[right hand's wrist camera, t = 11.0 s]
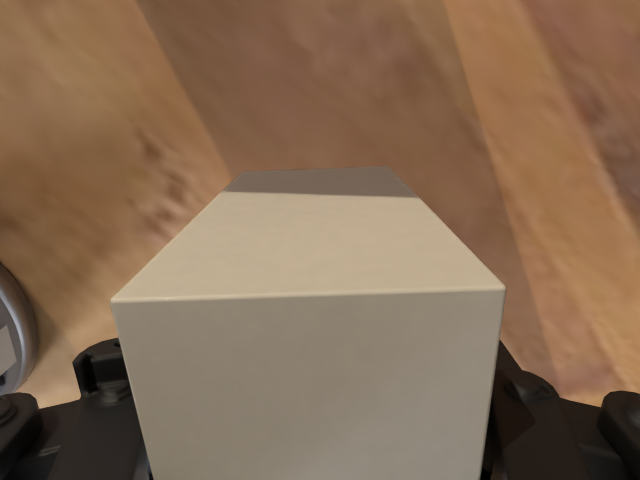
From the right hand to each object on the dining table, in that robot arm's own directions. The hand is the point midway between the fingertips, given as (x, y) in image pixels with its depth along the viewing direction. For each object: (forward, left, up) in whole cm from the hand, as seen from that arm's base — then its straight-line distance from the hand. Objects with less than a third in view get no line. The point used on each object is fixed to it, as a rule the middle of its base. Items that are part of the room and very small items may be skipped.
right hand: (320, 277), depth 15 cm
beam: (-4, -11, 0) cm, 12 cm away
